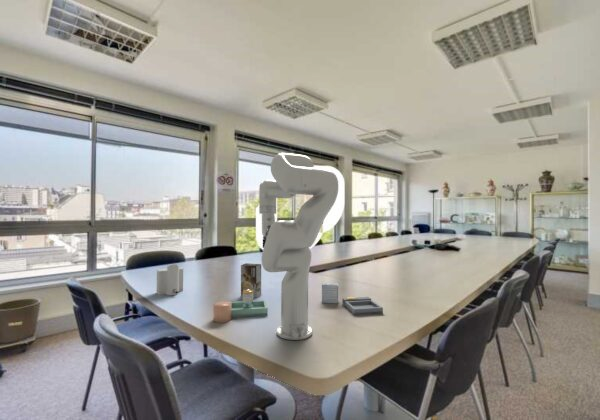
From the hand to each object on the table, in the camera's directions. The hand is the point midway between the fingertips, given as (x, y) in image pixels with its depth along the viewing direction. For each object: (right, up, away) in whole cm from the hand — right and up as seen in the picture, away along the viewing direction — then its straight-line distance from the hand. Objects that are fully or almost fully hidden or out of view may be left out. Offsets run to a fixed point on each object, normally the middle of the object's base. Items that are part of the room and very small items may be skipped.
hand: (267, 249), depth 128 cm
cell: (-8, -25, -4) cm, 27 cm away
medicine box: (+29, -27, +11) cm, 41 cm away
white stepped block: (-52, -27, +23) cm, 63 cm away
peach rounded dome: (-17, -26, -13) cm, 34 cm away
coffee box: (-11, -27, +21) cm, 36 cm away
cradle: (+42, -27, +1) cm, 50 cm away
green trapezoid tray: (-8, -26, -4) cm, 28 cm away
